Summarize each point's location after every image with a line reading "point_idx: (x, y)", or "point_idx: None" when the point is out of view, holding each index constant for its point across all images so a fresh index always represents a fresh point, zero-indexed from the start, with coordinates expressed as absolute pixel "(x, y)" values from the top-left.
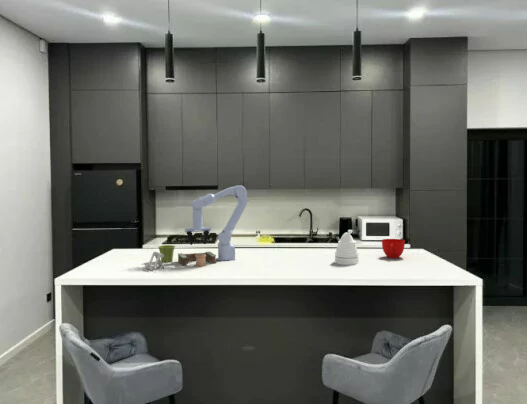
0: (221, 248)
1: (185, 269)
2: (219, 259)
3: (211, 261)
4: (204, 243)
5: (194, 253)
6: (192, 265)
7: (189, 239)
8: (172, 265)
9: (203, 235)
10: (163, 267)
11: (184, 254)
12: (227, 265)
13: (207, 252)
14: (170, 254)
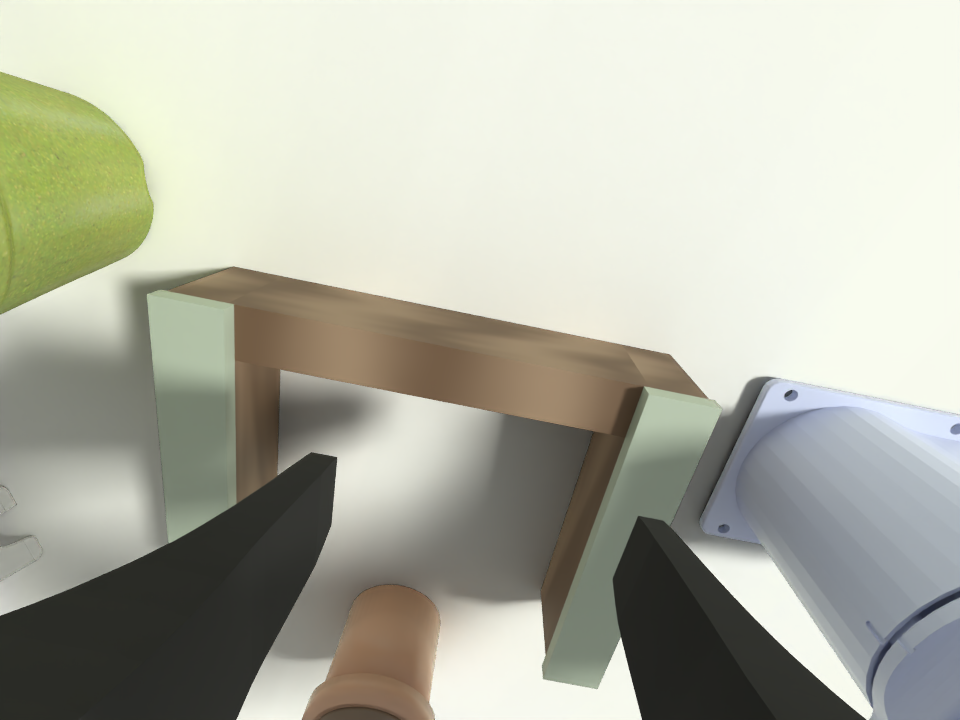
0: (831, 646)
1: None
2: (721, 505)
3: (547, 591)
4: (616, 594)
5: (447, 358)
6: (330, 565)
7: (219, 530)
8: (133, 464)
9: (764, 708)
10: (26, 564)
11: (266, 359)
12: (611, 710)
13: (624, 485)
14: (21, 304)
